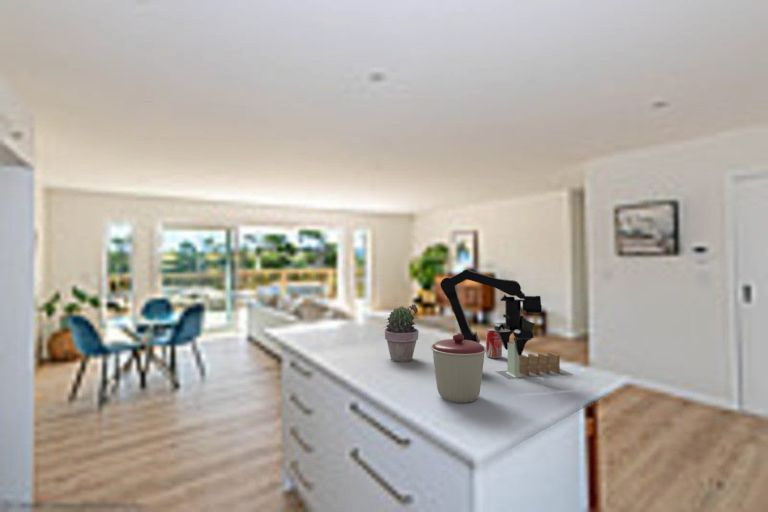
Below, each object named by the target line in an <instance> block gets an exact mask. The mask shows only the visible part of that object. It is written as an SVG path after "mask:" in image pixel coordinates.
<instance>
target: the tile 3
mask: <svg viewBox="0 0 768 512" xmlns="http://www.w3.org/2000/svg"><path fill="white" fill-rule="evenodd" d="M527 357H529V372H531V373H533V374H535V375H540V367H539V356H538V354H537V355H536V354H534V353H528V355H527Z"/></svg>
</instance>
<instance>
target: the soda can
mask: <svg viewBox="0 0 768 512" xmlns="http://www.w3.org/2000/svg"><path fill="white" fill-rule="evenodd" d="M496 331H497V330H495V327H487V328H486V331H485V347H486V349H487V351H486V352H485V356H486V357H487V358H489V359H494V358H497V359H501V357H502V356H503V343H502V341H501V339H500V337H499V335H498V333H497V332H496Z"/></svg>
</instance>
